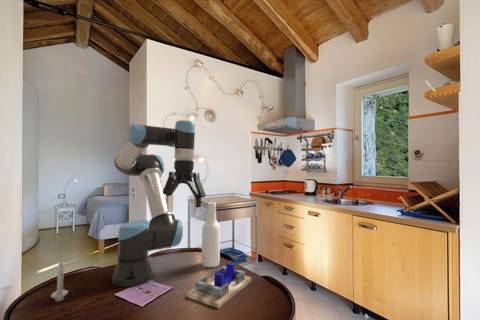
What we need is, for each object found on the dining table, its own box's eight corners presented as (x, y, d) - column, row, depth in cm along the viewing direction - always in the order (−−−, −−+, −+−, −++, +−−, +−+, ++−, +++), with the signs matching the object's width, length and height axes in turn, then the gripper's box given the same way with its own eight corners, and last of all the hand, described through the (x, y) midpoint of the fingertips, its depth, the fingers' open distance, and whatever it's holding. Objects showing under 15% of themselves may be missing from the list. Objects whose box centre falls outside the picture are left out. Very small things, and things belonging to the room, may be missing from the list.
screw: (47, 302, 85) (59, 295, 90) (59, 304, 85) (71, 296, 89) (48, 264, 86) (61, 258, 91) (60, 265, 85) (72, 260, 90)
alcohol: (214, 259, 128) (215, 200, 129) (222, 265, 121) (224, 203, 121) (198, 263, 123) (199, 201, 124) (206, 269, 116) (208, 204, 116)
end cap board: (186, 296, 91) (187, 284, 91) (223, 273, 112) (223, 263, 112) (218, 308, 84) (218, 294, 84) (251, 281, 105) (251, 270, 105)
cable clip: (224, 276, 105) (225, 262, 105) (234, 278, 103) (234, 264, 103) (210, 289, 94) (211, 273, 94) (221, 291, 92) (221, 275, 92)
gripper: (154, 159, 102) (153, 211, 102) (203, 159, 90) (201, 219, 90) (168, 160, 109) (166, 209, 108) (215, 160, 97) (214, 215, 96)
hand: (182, 213), depth 99 cm, fingers open, 13 cm apart
